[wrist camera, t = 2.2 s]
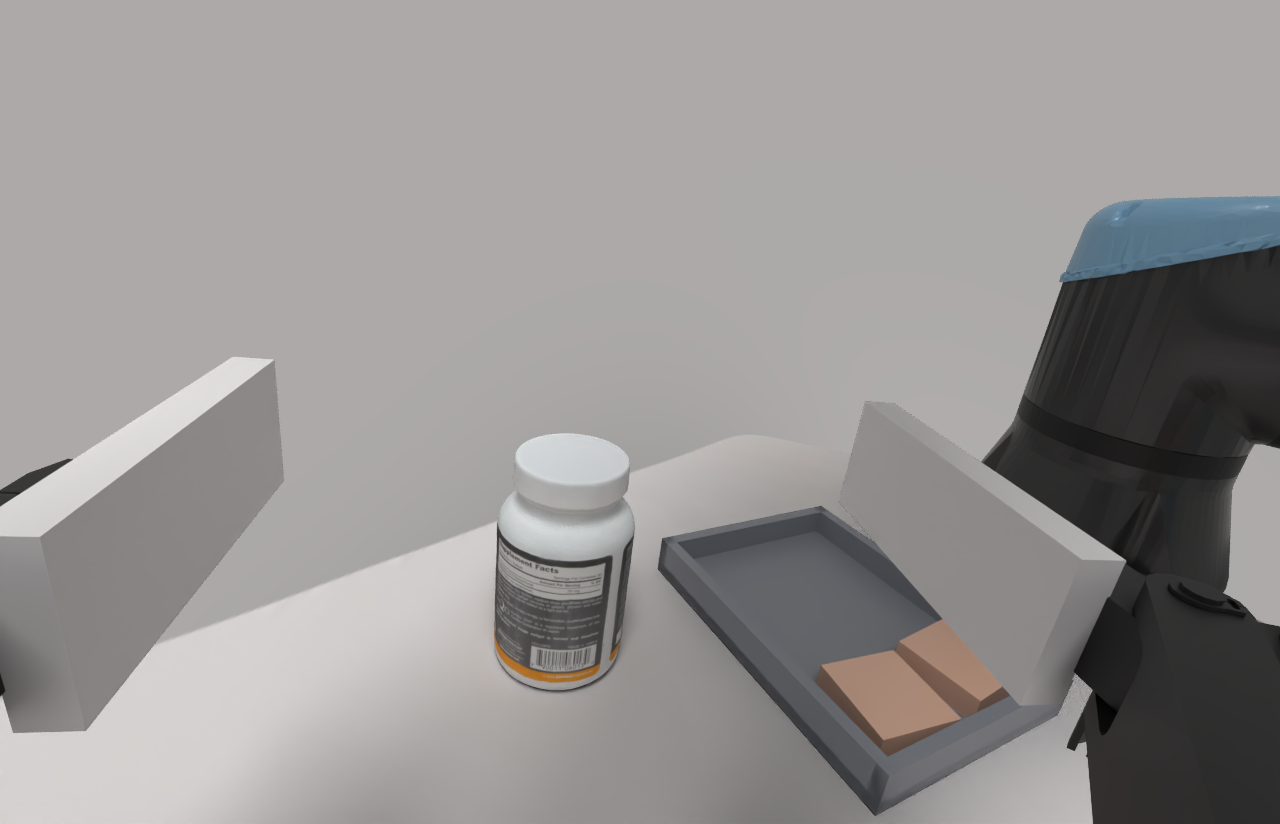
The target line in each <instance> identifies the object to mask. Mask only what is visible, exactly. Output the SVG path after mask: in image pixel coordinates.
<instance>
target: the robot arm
mask: <svg viewBox="0 0 1280 824" xmlns="http://www.w3.org/2000/svg"><path fill="white" fill-rule="evenodd" d="M1059 282H1063V284H1062V287H1061V290H1060V293H1059V296H1058V299H1057V302H1056V304H1055V307H1054V310H1053V313H1052V316H1051V319H1050V321H1049V325H1048V327H1047V330H1046V333H1045V336H1044V339H1043V341H1042V344H1041V347H1040V350H1039V352H1038V355H1037V358H1036V360H1035V363H1034V366H1033V369H1032V371H1031V374H1030V377H1029V380H1028V382H1027V385H1026V388H1025V390H1024V394H1023V397H1022V400H1021V402H1020V405H1019V408H1018V411H1017V414H1016V416H1015V419H1014V421H1013V423H1012V425H1011V426H1010V427H1009V429H1008V430H1007V431H1006V432H1005V434H1004V435H1003V436H1002V437H1001V438H1000V439H999V441H998V442H997V443H996V444H995V446H994V447H993V448H992V449H991V450H990V452H989V453H988V454H987V455H986V456H985V458H984V459H983V460H982V461H981V462H980V461H979V460H977V459H976V458H974V457H973V456H971V455H970V454H968V453H967V452H965V451H964V450H962V449H961V448H959V447H958V446H956V445H955V444H954V443H952V442H951V441H949V440H947V439H946V438H945V437H943V436H941V435H940V434H939V433H937V432H936V431H934V430H933V429H932V428H930V427H929V426H927V425H925V424H924V423H923V422H921V421H920V420H918V419H917V418H915V417H914V416H912V415H911V414H909V413H908V412H906V411H905V410H903V409H902V408H901V407H899V406H898V405H896V404H895V403H885V402H871V401H865V404H864V408H863V412H862V415H861V420H860V423H859V427H858V431H857V435H856V438H855V442H854V446H853V450H852V453H851V457H850V461H849V465H848V469H847V473H846V476H845V480H844V484H843V488H842V492H841V495H840V499H839V502H840V504H841V505H842V506H843V507H844V508H845V509H846V510H847V512H848V513H849V514H850V515H851V516H852V517H853V518H854V519H855V521H856V522H857V523H858V524H859V525H860V526H861V527H862V528H863V530H864V531H865V532H866V533H867V534H868V535H869V536H870V537H871V539H872V540H873V541H874V542H875V543H876V544H877V545H878V546H879V548H880V549H881V550H882V551H883V552H884V553H885V554H886V556H887V557H888V558H889V559H890V560H891V561H892V562H893V563H894V565H895V566H896V567H897V568H898V569H899V570H900V571H901V572H902V574H903V575H904V576H905V577H906V578H907V579H908V580H909V581H910V583H911V584H912V585H913V586H914V587H915V588H916V589H917V590H918V592H919V593H920V594H921V595H922V596H923V597H924V598H925V600H926V601H927V602H928V603H929V604H930V605H931V606H932V607H933V609H934V610H935V611H936V612H937V613H938V614H939V615H940V616H941V618H942V619H943V620H944V621H945V622H946V623H947V624H948V625H949V627H950V628H951V629H952V630H953V631H954V632H955V633H956V634H957V636H958V637H959V638H960V639H961V640H962V641H963V642H964V644H965V645H966V646H967V647H968V648H969V649H970V650H971V651H972V653H973V654H974V655H975V656H976V657H977V658H978V659H979V660H980V662H981V663H982V664H983V665H984V666H985V667H986V668H987V669H988V671H989V672H990V673H991V674H992V675H993V676H994V677H995V678H996V680H997V681H998V682H999V683H1000V684H1001V685H1002V686H1003V688H1004V689H1005V690H1006V691H1007V692H1008V693H1009V694H1010V695H1011V697H1012V698H1013V699H1014V700H1015V701H1016V702H1017V703H1018V704H1019V706H1028V705H1061V703H1062V701H1063V699H1064V696H1065V694H1066V692H1067V690H1068V688H1069V685H1070V683H1071V681H1072V679H1073V677H1074V674H1075V673H1076V674H1077V675H1078V676H1079V677H1080V678H1081V679H1082V680H1083V681H1084V682H1085V683H1086V684H1087V685H1088V686H1089V687H1090V688H1091V689H1092V690H1093V691H1092V693H1091V695H1090V697H1089V699H1088V701H1087V703H1086V706H1085V708H1084V710H1083V712H1082V714H1081V716H1080V718H1079V720H1078V722H1077V725H1076V727H1075V729H1074V731H1073V733H1072V735H1071V737H1070V739H1069V742H1068V745H1067V748H1069V749H1071V750H1073V751H1075V749H1076V747H1077V745H1078V743H1082V742H1086V743H1087V755H1086V757H1088V767H1089V779H1090V791H1091V803H1092V815H1093V824H1280V627H1279V626H1274V625H1269V624H1265V623H1260V622H1257V621H1256V619H1255V617H1254V616H1253V615H1252V614H1251V613H1250V612H1249V611H1248V609H1247V608H1246V607H1244V606H1243V605H1242V604H1241V603H1240V602H1239V601H1237V600H1235V599H1233V598H1231V597H1230V596H1228V595H1226V594H1224V593H1223V592H1224V591H1225V589H1226V586H1227V582H1228V578H1229V554H1230V528H1231V502H1232V501H1231V500H1232V489H1233V485H1234V483H1235V481H1236V479H1237V477H1238V474H1239V472H1240V471H1241V469H1242V467H1243V465H1244V463H1245V461H1246V459H1247V456H1248V454H1249V452H1250V451H1251V449H1252V448H1253V446H1254V444H1263V445H1267V446H1271V447H1275V448H1280V196H1277V197H1275V196H1274V197H1205V198H1204V197H1203V198H1202V197H1201V198H1169V199H1168V198H1167V199H1145V200H1132V201H1123V202H1118V203H1115V204H1112V205H1109V206H1107V207H1105V208H1103V209H1102V210H1100V211H1099V212H1097V213H1096V214H1095V215H1094V216H1093V217H1092V218H1091V219H1090V220H1089V221H1088V223H1087V224H1086V226H1085V228H1084V230H1083V232H1082V235H1081V237H1080V240H1079V242H1078V244H1077V247H1076V249H1075V251H1074V254H1073V256H1072V258H1071V261H1070V264H1069V265H1068V268H1067V270H1066V272H1064V273H1063V274H1062V275H1061V277H1060V281H1059ZM278 411H279V410H278V398H277V386H276V373H275V361H274V360H271V359H257V358H243V357H232V358H230V359H229V360H227V361H226V362H224V363H223V364H221V365H220V366H218V367H217V368H215V369H213V370H212V371H210V372H209V373H207V374H206V375H204V376H203V377H201V378H200V379H198V380H196V381H195V382H193V383H192V384H190V385H189V386H187V387H185V388H184V389H182V390H181V391H179V392H178V393H176V394H175V395H173V396H171V397H170V398H168V399H167V400H165V401H164V402H162V403H161V404H159V405H158V406H156V407H154V408H153V409H151V410H150V411H148V412H147V413H145V414H143V415H142V416H140V417H139V418H137V419H136V420H134V421H133V422H131V423H130V424H128V425H126V426H125V427H123V428H122V429H120V430H119V431H117V432H116V433H114V434H112V435H111V436H109V437H108V438H106V439H105V440H103V441H102V442H100V443H98V444H97V445H95V446H94V447H92V448H91V449H89V450H88V451H86V452H84V453H83V454H81V455H80V456H78V457H77V458H75V459H66V460H63V461H61V462H58V463H55V464H52V465H50V466H47V467H44V468H41V469H39V470H36V471H33V472H30V473H28V474H26V475H24V476H23V477H21V478H19V479H18V480H16V481H15V482H13V483H11V484H10V485H8V486H6V487H5V488H3V489H1V490H0V696H1V695H2V696H3V700H4V703H5V706H6V710H7V713H8V717H9V720H10V724H11V727H12V730H13V733H27V732H64V731H86V730H87V729H88V728H89V726H90V725H91V724H92V722H93V721H94V720H95V719H96V717H97V716H98V715H99V714H100V712H101V711H102V710H103V709H104V707H105V706H106V705H107V704H108V702H109V701H110V700H111V698H112V697H113V696H114V695H115V693H116V692H117V691H118V690H119V688H120V687H121V686H122V685H123V683H124V682H125V681H126V680H127V678H128V677H129V676H130V674H131V673H132V672H133V671H134V669H135V668H136V667H137V666H138V664H139V663H140V662H141V661H142V659H143V658H144V657H145V656H146V654H147V653H148V652H149V651H150V649H151V648H152V647H153V645H154V644H155V643H156V642H157V640H158V639H159V638H160V636H161V635H162V634H163V633H164V632H165V630H166V629H167V628H168V626H169V625H170V624H171V623H172V621H173V620H174V619H175V618H176V616H177V615H178V614H179V613H180V611H181V610H182V609H183V607H184V606H185V605H186V604H187V603H188V601H189V600H190V599H191V597H192V596H193V595H194V594H195V592H196V591H197V590H198V589H199V587H200V586H201V585H202V584H203V582H204V581H205V580H206V579H207V577H208V576H209V575H210V574H211V572H212V571H213V570H214V568H215V567H216V566H217V565H218V563H219V562H220V561H221V560H222V558H223V557H224V556H225V555H226V553H227V552H228V551H229V549H230V548H231V547H232V546H233V544H234V543H235V542H236V541H237V539H238V538H239V537H240V536H241V534H242V533H243V532H244V531H245V529H246V528H247V527H248V526H249V524H250V523H251V522H252V520H253V519H254V518H255V517H256V515H257V514H258V513H259V511H260V510H261V509H262V508H263V507H264V505H265V504H266V503H267V502H268V500H269V499H270V498H271V496H272V495H273V494H274V493H275V491H276V490H277V489H278V487H279V486H280V485H281V484H282V483H283V481H284V473H283V461H282V449H281V435H280V424H279V412H278Z"/></svg>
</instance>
